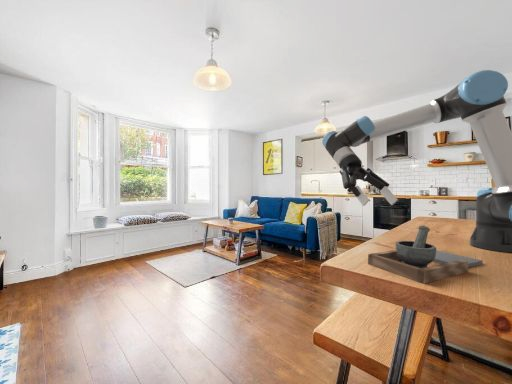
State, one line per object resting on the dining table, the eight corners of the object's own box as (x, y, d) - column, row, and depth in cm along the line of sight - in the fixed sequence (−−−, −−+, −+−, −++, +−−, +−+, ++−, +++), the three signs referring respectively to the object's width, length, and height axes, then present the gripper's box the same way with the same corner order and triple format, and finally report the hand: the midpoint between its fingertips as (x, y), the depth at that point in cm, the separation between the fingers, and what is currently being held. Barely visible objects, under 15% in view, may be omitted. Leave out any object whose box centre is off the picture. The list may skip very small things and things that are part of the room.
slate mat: (432, 252, 87) (433, 249, 87) (482, 263, 74) (482, 260, 74) (411, 255, 82) (412, 253, 82) (461, 269, 69) (461, 265, 69)
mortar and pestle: (423, 276, 63) (424, 231, 62) (388, 266, 71) (389, 225, 71) (443, 269, 68) (444, 227, 68) (409, 260, 77) (409, 223, 76)
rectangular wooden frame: (410, 256, 81) (410, 247, 81) (467, 271, 67) (468, 261, 67) (368, 263, 73) (368, 254, 73) (423, 283, 58) (424, 271, 58)
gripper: (364, 169, 100) (397, 209, 87) (317, 166, 90) (346, 210, 77) (376, 155, 95) (413, 195, 82) (327, 150, 85) (360, 195, 72)
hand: (380, 202), depth 79 cm, fingers open, 13 cm apart
